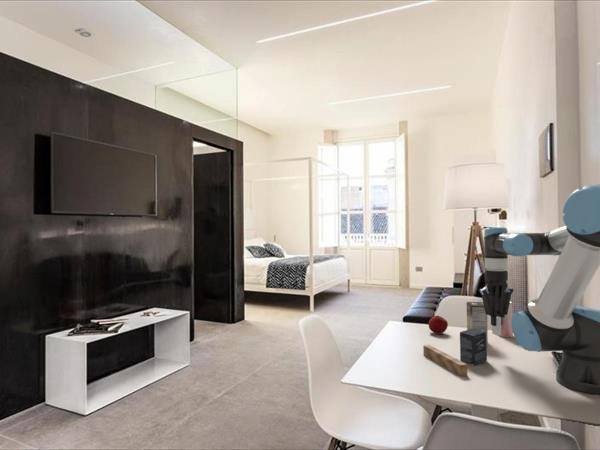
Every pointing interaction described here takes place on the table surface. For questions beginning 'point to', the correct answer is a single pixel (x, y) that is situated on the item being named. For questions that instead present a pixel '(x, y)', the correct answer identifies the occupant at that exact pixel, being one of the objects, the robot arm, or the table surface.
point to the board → (445, 360)
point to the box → (473, 346)
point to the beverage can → (507, 323)
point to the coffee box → (477, 317)
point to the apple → (438, 324)
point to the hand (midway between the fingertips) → (496, 334)
